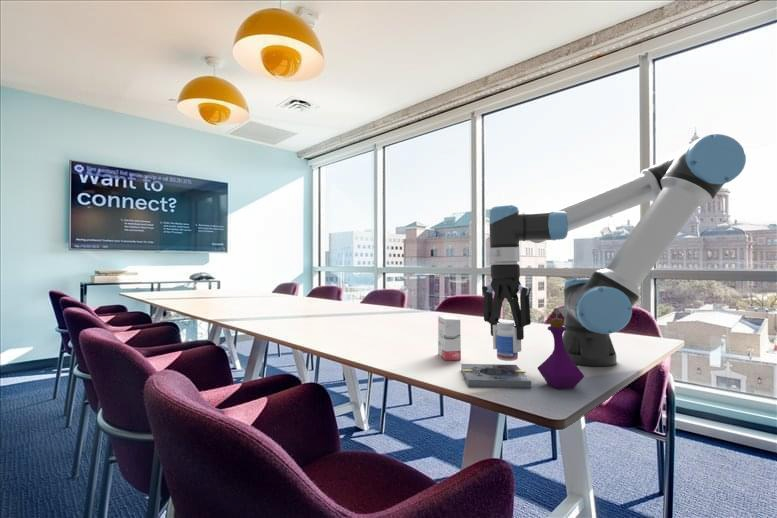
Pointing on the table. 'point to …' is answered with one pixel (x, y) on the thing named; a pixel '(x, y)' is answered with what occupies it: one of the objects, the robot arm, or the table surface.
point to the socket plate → (507, 378)
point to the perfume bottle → (560, 359)
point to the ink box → (449, 338)
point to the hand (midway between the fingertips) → (507, 349)
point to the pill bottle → (505, 342)
